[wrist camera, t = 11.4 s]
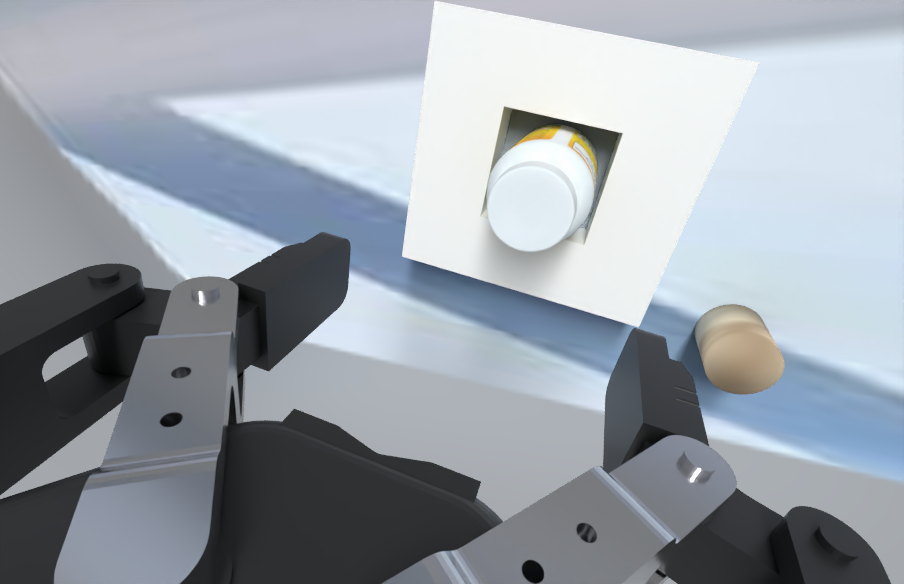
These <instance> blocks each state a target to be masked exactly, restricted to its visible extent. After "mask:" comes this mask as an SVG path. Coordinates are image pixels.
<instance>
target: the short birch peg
mask: <svg viewBox="0 0 904 584" xmlns="http://www.w3.org/2000/svg"><path fill="white" fill-rule="evenodd" d="M695 338H696V342H697V345H698V349H699V352H700V355H701V359H702V362H703V366H704V369H705V373H706V375H707V377H708V379H709V380H710V381H711V383H712V384H714V385H715V386H716V387H718V388H719V389H721V390H723V391H726V392H729V393H734V394H753V393H757V392H761V391H763V390H766V389H767V388H769V387H771V386H772V385H774V384H775V383H776V382H777V381H778V380H779V379H780V377H781V375H782V373H783V371H784V359H783V356H782V354H781V352H780V351H779V349H778V347H777V345H776V343H775V342H774V340H773V338H772V336H771V335H770V333H769V331H768V329H767V328H766V326H765V324H764V322H763V320H762V319H761V317H760V316H759V315H758V314H757V313H756V312H755V311H753V310H752V309H750V308H748V307H745V306H741V305H723V306H719V307H716V308H713V309H711V310H709V311H708V312H706V313H705V314H704V315H703V316H702V317H701V318H700V319H699V320H698V322H697V324H696V327H695Z"/></svg>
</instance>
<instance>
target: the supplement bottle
mask: <svg viewBox="0 0 904 584" xmlns="http://www.w3.org/2000/svg"><path fill="white" fill-rule="evenodd" d="M597 173H598V160H597V155H596V152H595V149H594V147H593V145H592V144H591V142H590V141H589V140H588V138H587V137H586V136H585V135H584V134H582V133H581V132H580V131H578V130H577V129H575V128H572V127H570V126H566V125H559V124H553V125H546V126H543V127H540V128H538V129H535V130H534V131H532V132H530V133H529V134H527V135H526V136H525V137H524V138H523V139H521V140H520V141H519V142H518V143H517V144H516V145H514V146H513V147H512V148H511V149H510V150H508V151H507V152H506V153H505V154H504V155H503V156H502V157H501V158H500V159H499V160H498V162H497V163H496V165H495V166H494V168H493V170H492V172H491V174H490V177H489V181H488V185H487V216H488V221H489V224H490V226H491V228H492V230H493V231H494V233H495V234H496V236H497V237H498V238H499V239H500V240H501V241H502V242H504V243H505V244H506V245H508V246H510V247H512V248H514V249H516V250H520V251H525V252H537V251H542V250H546V249H548V248H550V247H552V246H554V245H556V244H557V243H559V242H560V241H562V240H564V239H566V238H568V237H569V236H571V235H572V234H573V233H574V232H576V231H577V230H578V229H579V228H580V227H581V225H582V224H583V223H584V221H585V220H586V218H587V217H588V215H589V212H590V210H591V207H592V204H593V199H594V193H595V186H596V180H597Z"/></svg>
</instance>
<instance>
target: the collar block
mask: <svg viewBox="0 0 904 584" xmlns="http://www.w3.org/2000/svg"><path fill="white" fill-rule="evenodd" d="M759 63H760V62H755V61H750V60H744V59H739V58H734V57H729V56H723V55H718V54H713V53H708V52H702V51H697V50H692V49H686V48H681V47H676V46H671V45H665V44H660V43H655V42H650V41H644V40H639V39H634V38H628V37H623V36H618V35H613V34H607V33H602V32H597V31H591V30H586V29H581V28H576V27H570V26H565V25H560V24H555V23H549V22H544V21H539V20H533V19H528V18H523V17H518V16H512V15H507V14H502V13H496V12H491V11H486V10H481V9H475V8H470V7H465V6H460V5H454V4H449V3H444V2H438V1H435V3H434V11H433V19H432V27H431V35H430V42H429V50H428V58H427V66H426V74H425V81H424V89H423V97H422V105H421V113H420V120H419V128H418V136H417V144H416V152H415V159H414V167H413V175H412V183H411V191H410V198H409V206H408V214H407V222H406V230H405V237H404V245H403V253H402V257H406V258H409V259H412V260H416V261H419V262H422V263H426V264H429V265H432V266H436V267H439V268H442V269H446V270H449V271H452V272H456V273H459V274H462V275H466V276H469V277H472V278H476V279H479V280H482V281H486V282H489V283H492V284H496V285H499V286H502V287H506V288H509V289H512V290H516V291H519V292H523V293H526V294H529V295H533V296H536V297H539V298H543V299H546V300H549V301H553V302H556V303H559V304H563V305H566V306H569V307H573V308H576V309H579V310H583V311H586V312H589V313H593V314H596V315H599V316H603V317H606V318H609V319H613V320H616V321H619V322H623V323H626V324H629V325H633V326H636V327H639V325H640V323H641V321H642V319H643V317H644V314H645V312H646V310H647V308H648V306H649V303H650V301H651V299H652V297H653V295H654V292H655V290H656V288H657V286H658V284H659V281H660V279H661V277H662V275H663V273H664V271H665V268H666V266H667V264H668V262H669V260H670V257H671V255H672V253H673V251H674V249H675V246H676V244H677V242H678V240H679V238H680V236H681V233H682V231H683V229H684V227H685V225H686V222H687V220H688V218H689V216H690V214H691V211H692V209H693V207H694V205H695V203H696V201H697V198H698V196H699V194H700V192H701V190H702V187H703V185H704V183H705V181H706V179H707V176H708V174H709V172H710V170H711V168H712V165H713V163H714V161H715V159H716V157H717V155H718V152H719V150H720V148H721V146H722V144H723V141H724V139H725V137H726V135H727V133H728V130H729V128H730V126H731V124H732V122H733V120H734V117H735V115H736V113H737V111H738V109H739V106H740V104H741V102H742V100H743V98H744V95H745V93H746V91H747V89H748V87H749V85H750V82H751V80H752V78H753V76H754V74H755V71H756V69H757V67H758V65H759ZM512 108H513V109H518V110H522V111H527V112H531V113H535V114H540V115H544V116H549V117H553V118H558V119H562V120H566V121H571V122H575V123H580V124H584V125H588V126H593V127H597V128H602V129H606V130H610V131H615V132H619V136H618V138H617V141H616V144H615V147H614V150H613V153H612V156H611V159H610V162H609V165H608V168H607V171H606V174H605V176H604V179H603V182H602V185H601V188H600V191H599V194H598V197H597V200H596V203H595V206H594V209H593V212H592V214H591V217H590V220H589V223H588V226H587V229H585V228H581V227H580V228H579V229H578V230H577V231H576V232H574V233H573V234H572V235H571V236H569V237H568V238H566V239H564V240H562V241H560V242H559V243H557V244H556V245H554V246H552V247H550V248H548V249H546V250H542V251H537V252H525V251H520V250H516V249H514V248H512V247H510V246H508V245H506V244H505V243H504V242H502V241H501V240H500V239H499V238H498V237H497V236H496V234H495V233H494V231H493V230H492V228H491V226H490V224H489V221H488V216H487V185H488V181H489V177H490V174H491V172H492V170H493V168H494V166H495V165H496V163H497V162H498V160H499V159H500V158H501V157H502V152H503V148H504V143H505V139H506V134H507V130H508V125H509V121H510V116H511V112H512Z"/></svg>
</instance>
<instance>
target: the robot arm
mask: <svg viewBox="0 0 904 584" xmlns="http://www.w3.org/2000/svg"><path fill="white" fill-rule="evenodd" d="M349 263H350V242H349V241H348V240H347V239H345V238H342V237H338V236H335V235H332V234H329V233H325V232H321V233H319V234H318V235H316V236H314V237H313V238H311V239H309V240H308V241H306V242H304V243H298V244H294V245H290V246H287V247H284V248H282V249H280V250H278V251H277V252H275V253H273V254H272V256H268V257H266V258H265V259H263V260H261V262H258V263H256V264H254V265H252V266H251V267H249V268H247V269H246V270H244V271H242V272H240V273H239V274H237V275H235V276H233V277H232V278H230V279H225V278H221V277H209V276H208V277H197V278H192V279H189V280H186V281H183V282H181V283H179V284H178V285H176V286H175V287H174V288H173V289H172V291H170V290H161V289H153V288H144V286H143V281H142V277H141V273H140V271H139V270H138V269H136V268H135V267H132V266H129V265H124V264H101V265H94V266H90V267H87V268H83V269H81V270H78V271H76V272H73V273H71V274H69V275H67V276H64V277H62V278H60V279H57V280H55V281H53V282H51V283H48V284H46V285H44V286H42V287H39V288H37V289H35V290H32V291H30V292H28V293H26V294H23V295H21V296H19V297H16V298H14V299H12V300H10V301H7V302H5V303H3V304H1V305H0V495H1V494H2V493H4V492H5V491H6V490H8V489H9V488H10V487H11V486H12V485H14V484H15V483H17V482H18V481H19V480H21V479H22V478H23V477H25V476H26V475H27V474H28V473H30V472H31V471H32V470H34V469H35V468H36V467H38V466H39V465H40V464H42V463H43V462H44V461H45V460H47V459H48V458H49V457H51V456H52V455H53V454H55V453H56V452H57V451H58V450H60V449H61V448H63V447H64V446H65V445H66V444H67V443H69V442H70V441H72V440H73V439H74V438H75V437H77V436H78V435H79V434H81V433H82V432H83V431H85V430H86V429H87V428H89V427H90V426H91V425H93V424H94V423H95V422H96V421H98V420H99V419H100V418H102V417H103V416H104V415H106V414H107V413H108V412H109V411H111V410H112V409H113V408H115V407H116V406H117V405H118V404H120V403H121V402H123V403H122V406H121V409H120V412H119V415H118V418H117V421H116V424H115V427H114V430H113V433H112V436H111V439H110V442H109V445H108V448H107V451H106V454H105V457H104V460H103V463H102V465H101V467H98V468H95V469H92V470H89V471H86V472H83V473H80V474H77V475H74V476H71V477H68V478H65V479H62V480H59V481H56V482H52V483H49V484H46V485H43V486H40V487H37V488H34V489H31V490H28V491H25V492H22V493H18V494H15V495H12V496H9V497H6V498H3V499H0V584H663V583H664V582H665V581H666V580H667V579H668V578H671V579H672V580H673V581H675V582H676V583H677V584H891V583H890V580H889V578H888V576H887V574H886V572H885V570H884V567H883V565H882V563H881V561H880V560H879V558H878V556H877V555H876V553H875V552H874V550H873V549H872V548H871V547H870V546H869V545H868V544H867V542H866V541H865V540H864V539H863V538H862V537H861V536H860V535H858V534H857V533H856V532H855V531H854V530H853V529H851V528H850V527H849V526H848V525H846V524H845V523H843V522H842V521H840V520H839V519H837V518H835V517H834V516H832V515H830V514H828V513H826V512H823V511H821V510H818V509H815V508H812V507H805V506H799V507H795V508H792V509H791V510H790V511H789V512H788V513H787V514H786V515H785V517H782V516H781V515H779V514H777V513H776V512H774V511H772V510H770V509H769V508H767V507H765V506H764V505H762V504H760V503H759V502H757V501H755V500H754V499H752V498H750V497H749V496H747V495H746V494H744V493H743V492H741V491H740V490H739V489H737V488H736V485H737V483H736V482H737V481H736V477H735V475H734V472H733V470H732V469H731V468H730V466H729V464H728V463H727V462H726V461H725V460H724V459H723V458H722V457H721V456H720V455H719V454H718V453H717V452H716V451H714V450H713V449H712V448H710V447H709V444H708V439H707V435H706V431H705V427H704V423H703V418H702V414H701V410H700V408H699V401H698V397H697V395H696V389H695V384H694V380H693V377H692V376H691V375H690V373H689V372H688V371H687V369H686V368H685V367H684V365H683V364H682V363H681V362H678V361H675V360H672V359H669V355H668V349H667V344H666V339H665V337H663V336H660V335H657V334H653V333H650V332H647V331H644V330H640V329H637V328H634V329H633V330H632V331H631V333H630V335H629V337H628V339H627V341H626V343H625V346H624V348H623V350H622V352H621V355H620V357H619V359H618V361H617V363H616V366H615V368H614V370H613V372H612V375H611V377H610V380H609V383H608V387H607V391H606V398H605V428H604V459H603V467H601V466H596V467H594V468H592V469H590V470H588V471H587V472H585V473H583V474H582V475H580V476H578V477H577V478H575V479H573V480H572V481H570V482H569V483H567V484H565V485H564V486H562V487H560V488H559V489H557V490H555V491H554V492H552V493H550V494H549V495H547V496H545V497H544V498H542V499H540V500H539V501H537V502H536V503H534V504H532V505H530V506H529V507H527V508H525V509H524V510H522V511H521V512H519V513H517V514H516V515H514V516H512V517H511V518H509V519H508V520H506V521H504V522H503V521H502V520H501V519H500V518H499V517H498V516H497V515H496V513H494V512H493V511H492V510H491V509H490V508H489V507H488V506H487V505H485V504H484V503H483V502H481V501H480V500H479V499H477V498H476V496H477V493H478V489H479V486H480V483H481V482H480V481H478V480H475V479H473V478H470V477H467V476H465V475H462V474H460V473H457V472H455V471H452V470H449V469H447V468H444V467H442V466H439V465H437V464H434V463H431V462H425V461H418V460H412V459H406V458H399V457H393V456H386V455H381V454H378V453H376V452H374V451H372V450H371V449H370V448H368V447H367V446H365V445H364V444H363V443H361V442H360V441H358V440H357V439H356V438H354V437H353V436H351V435H350V434H348V433H347V432H346V431H344V430H343V429H341V428H340V427H339V426H337V425H334V424H332V423H329V422H327V421H324V420H322V419H319V418H316V417H314V416H312V415H309V414H306V413H304V412H301V411H299V410H296V409H294V410H293V411H292V412H291V413H290V414H289V415H288V416H287V417H286V418H285V419H284V420H283V422H280V421H250V422H243V420H244V396H245V371H244V370H245V369H246V368H247V367H249V366H250V365H253V366H256V367H258V368H261V369H264V370H266V371H270V370H271V369H272V368H273V367H274V366H275V365H276V364H277V363H278V362H280V361H281V360H282V359H283V358H284V357H285V356H286V355H287V354H288V353H289V352H291V351H292V350H293V349H294V348H295V347H296V346H297V345H298V344H299V343H300V342H302V341H303V340H304V339H305V338H306V337H307V336H308V335H309V334H310V333H311V332H313V331H314V330H315V329H316V328H317V327H318V326H319V325H320V324H321V323H322V322H324V321H325V320H326V319H327V318H328V317H329V316H330V315H331V314H332V313H333V312H335V311H336V310H337V309H338V308H339V307H340V306H341V304H342V303H343V301H344V299H345V297H346V294H347V290H348V279H349ZM80 337H83V340H84V343H85V347H86V350H87V353H88V356H87V357H85V358H83V359H82V360H80V361H79V362H77V363H75V364H74V365H72V366H71V367H69V368H67V369H66V370H64V371H62V372H61V373H59V374H58V375H56V376H54V377H53V378H51V379H50V380H48V381H46V382H44V379H43V376H42V368H43V365H44V363H45V361H46V360H47V359H48V357H49V356H50V355H52V354H53V353H54V352H56V351H57V350H59V349H61V348H63V347H64V346H66V345H68V344H69V343H71V342H73V341H75V340H76V339H78V338H80Z"/></svg>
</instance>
